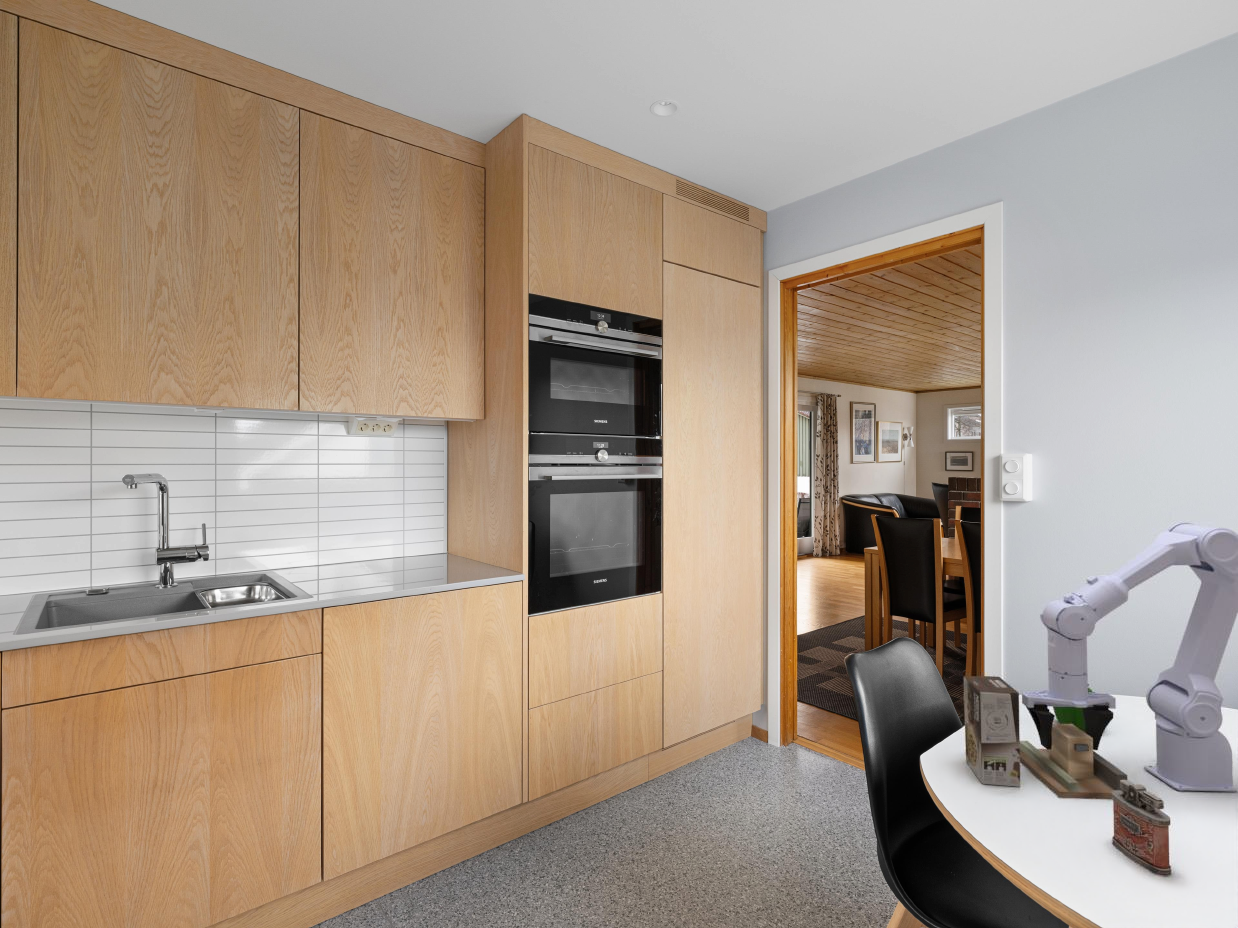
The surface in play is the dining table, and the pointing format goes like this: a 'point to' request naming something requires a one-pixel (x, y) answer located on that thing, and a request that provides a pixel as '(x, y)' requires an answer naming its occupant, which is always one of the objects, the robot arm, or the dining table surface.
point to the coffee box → (992, 730)
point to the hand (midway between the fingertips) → (1069, 747)
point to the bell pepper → (1071, 715)
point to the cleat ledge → (1063, 783)
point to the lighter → (1141, 827)
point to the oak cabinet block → (1072, 751)
